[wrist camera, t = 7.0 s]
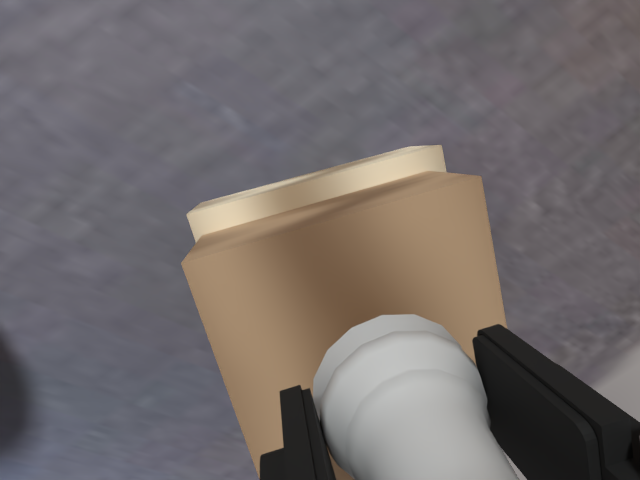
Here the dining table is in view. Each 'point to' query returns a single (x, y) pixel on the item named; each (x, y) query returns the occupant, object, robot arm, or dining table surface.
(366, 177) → the beech base block
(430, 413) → the rook chess piece
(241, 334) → the tan top block
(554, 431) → the robot arm
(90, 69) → the dining table surface
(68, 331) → the dining table surface
